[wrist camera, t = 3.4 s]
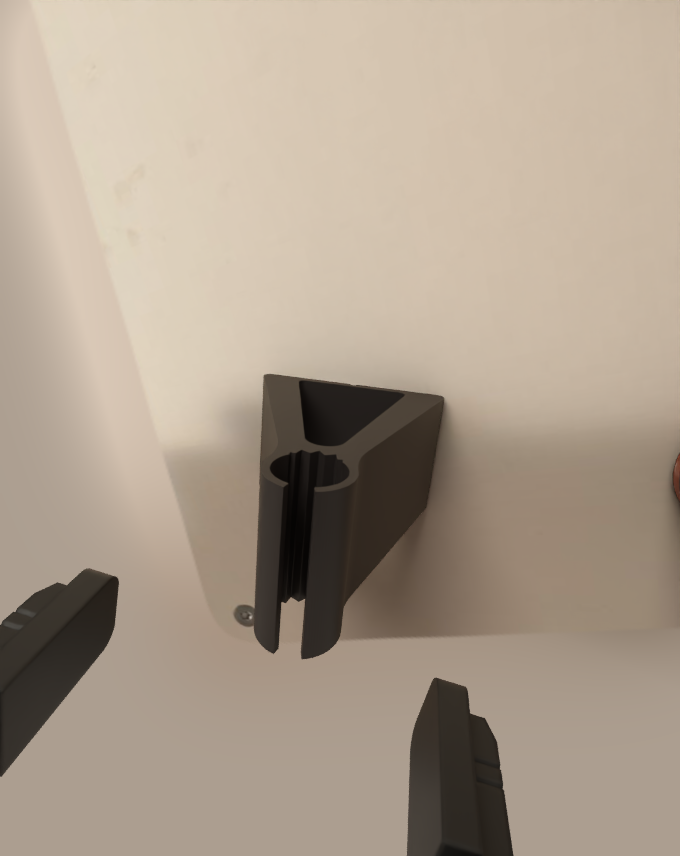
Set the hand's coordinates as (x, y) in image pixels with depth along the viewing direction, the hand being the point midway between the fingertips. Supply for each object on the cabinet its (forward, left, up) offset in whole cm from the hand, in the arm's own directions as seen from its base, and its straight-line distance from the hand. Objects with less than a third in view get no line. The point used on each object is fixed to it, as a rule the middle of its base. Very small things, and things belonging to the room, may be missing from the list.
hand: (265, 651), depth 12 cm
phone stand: (0, 0, -15) cm, 15 cm away
